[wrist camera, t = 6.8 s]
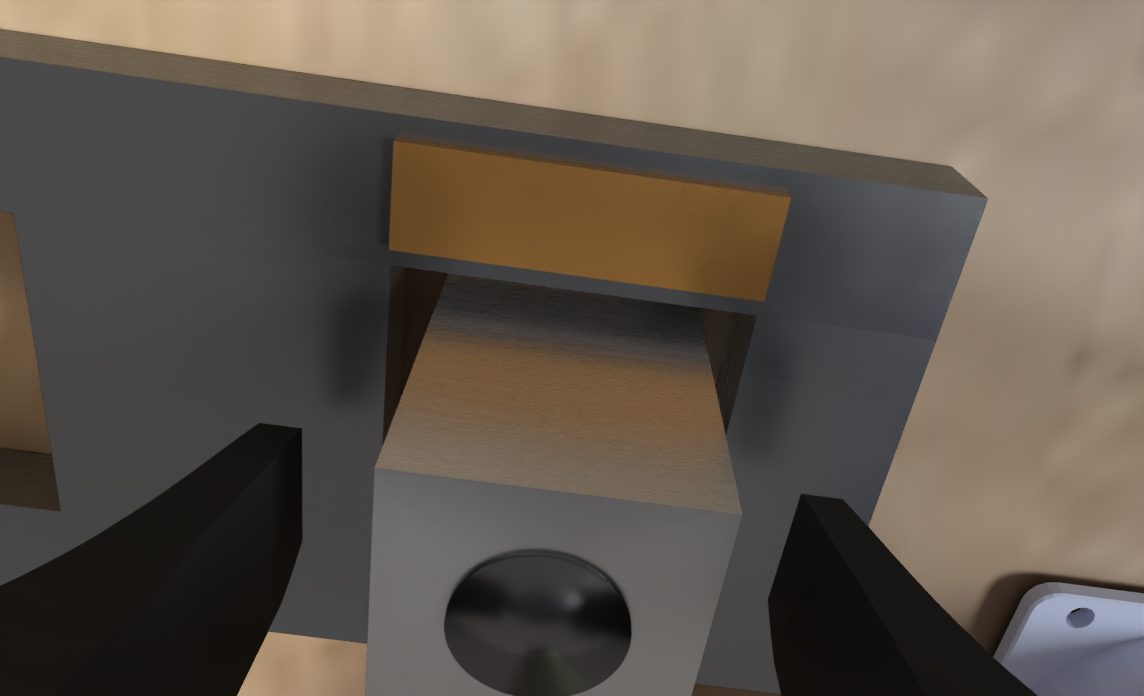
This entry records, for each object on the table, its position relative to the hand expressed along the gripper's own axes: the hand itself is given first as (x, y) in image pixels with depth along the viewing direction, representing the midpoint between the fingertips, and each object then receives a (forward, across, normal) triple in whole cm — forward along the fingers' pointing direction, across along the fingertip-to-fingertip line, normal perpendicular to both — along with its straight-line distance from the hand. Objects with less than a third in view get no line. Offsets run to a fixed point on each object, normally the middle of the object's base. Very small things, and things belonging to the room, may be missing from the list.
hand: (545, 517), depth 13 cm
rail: (+3, +6, 0) cm, 6 cm away
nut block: (+3, 0, 0) cm, 4 cm away
